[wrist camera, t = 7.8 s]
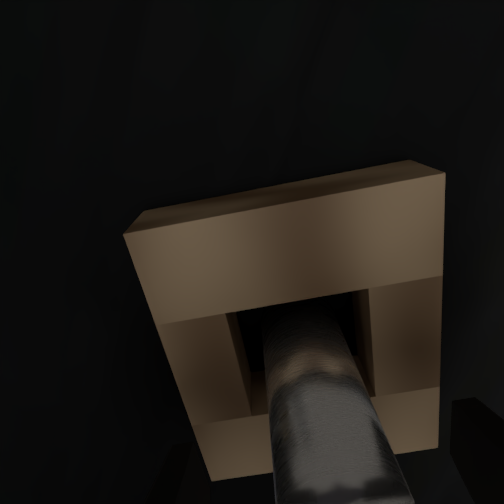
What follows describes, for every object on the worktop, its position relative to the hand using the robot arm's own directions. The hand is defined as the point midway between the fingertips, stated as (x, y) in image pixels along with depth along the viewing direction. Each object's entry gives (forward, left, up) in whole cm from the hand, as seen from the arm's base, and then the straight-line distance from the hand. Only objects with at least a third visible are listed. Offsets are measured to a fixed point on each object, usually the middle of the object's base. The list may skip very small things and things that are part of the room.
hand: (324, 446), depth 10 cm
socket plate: (0, 0, -6) cm, 6 cm away
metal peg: (0, 0, -6) cm, 6 cm away
